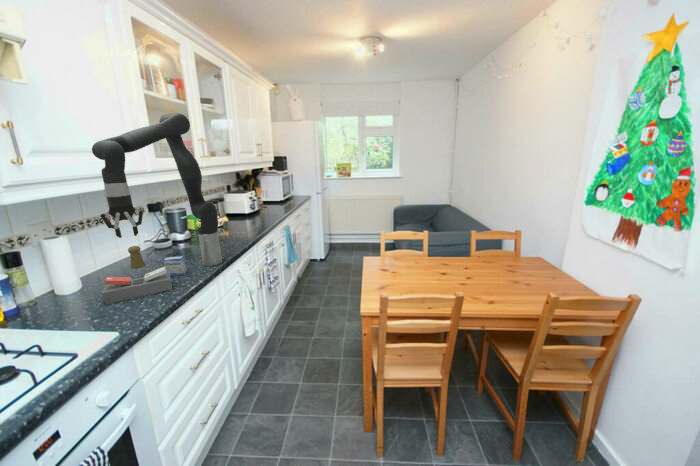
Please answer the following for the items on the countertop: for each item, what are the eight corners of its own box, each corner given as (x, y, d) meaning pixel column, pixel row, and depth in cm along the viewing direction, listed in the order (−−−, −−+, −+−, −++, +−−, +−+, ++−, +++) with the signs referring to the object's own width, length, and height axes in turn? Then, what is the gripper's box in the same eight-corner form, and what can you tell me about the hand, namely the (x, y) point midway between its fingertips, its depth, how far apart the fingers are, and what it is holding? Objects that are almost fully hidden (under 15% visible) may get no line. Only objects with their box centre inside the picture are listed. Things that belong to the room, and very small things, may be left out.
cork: (137, 268, 150) (133, 248, 147) (128, 268, 152) (123, 248, 148) (147, 264, 156) (143, 245, 153) (138, 263, 157) (134, 244, 154)
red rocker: (130, 280, 124) (130, 277, 124) (129, 284, 120) (130, 280, 120) (106, 280, 119) (106, 276, 119) (104, 284, 116) (104, 280, 116)
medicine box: (166, 276, 141) (163, 260, 138) (169, 273, 145) (166, 256, 142) (184, 274, 143) (181, 258, 140) (186, 271, 147) (184, 255, 144)
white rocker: (166, 269, 130) (164, 266, 130) (166, 272, 127) (164, 269, 126) (146, 277, 127) (144, 274, 126) (146, 281, 123) (144, 278, 123)
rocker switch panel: (171, 282, 135) (169, 270, 133) (172, 289, 127) (169, 277, 126) (108, 295, 123) (105, 282, 121) (105, 304, 116) (101, 290, 114)
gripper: (141, 191, 120) (149, 231, 125) (96, 194, 113) (107, 237, 118) (140, 194, 114) (148, 235, 119) (92, 197, 107) (104, 241, 111)
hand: (127, 236), depth 118 cm, fingers open, 4 cm apart
